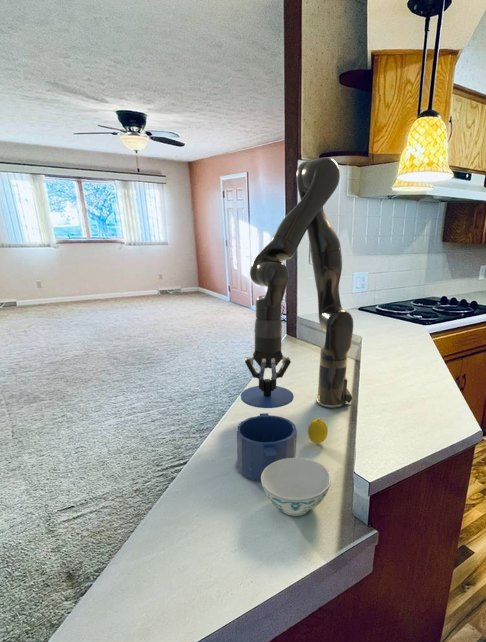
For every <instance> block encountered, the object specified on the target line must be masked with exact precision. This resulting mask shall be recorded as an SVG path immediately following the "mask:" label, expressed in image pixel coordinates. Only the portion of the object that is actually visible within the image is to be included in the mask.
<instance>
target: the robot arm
mask: <svg viewBox="0 0 486 642" xmlns="http://www.w3.org/2000/svg"><path fill="white" fill-rule="evenodd" d="M340 178H341V175H340V168H339V166H338V163H337V162H336V160H334V159H333V158H331V157H318V158H313V159H309V160H305V161H303V162H301V163H300V164H299V165H298V168H297V170H296V185H297V191H298V194H299V198H300V201H299V202H298V203H297V204H296V205H295V206H294V207H293V208H292V209H291V210H290V211H289V212H288V213H287V214H286V216H284V218H283V219H282V221H280V223H279V224H278V227H277V229H276V230H275V232H274V234H273V236H272V238H271V240H270V242H269V243H268V244H266V245H265V247H264V248H263V249H262V250H261V251H260V252H259V253H258V255H256V257H255V258H254V259H253V261H252V262H251V265H250V269H249V277H250V279H251V281H252V282H253V283H254V285H257V286H261V287H266V288H267V290H266V293H265V294H262V295H259V296H257V297H256V299H255V321H254V351H253V353H252V355H251V356H249V357H247V356H246V357H244V363H245V366H246V367H247V369H248V371H249V373H250V374H251V376H252V377H253V378H254V379H258V386H259V389H261V391H264V379H265V378H264V377H265V372H266V371H265V370H266V369H270V370H271V377H270V380H271V391H274V389H276V386H277V379H279V378H283V377H284V375H285V374H286V372H287V370H288V368H289V367H290V365H291V363H292V361H291V359H290V357H289V356H288V357H286V356H284V354H283V352H282V335H283V334H282V333H283V324H282V323H283V322H282V304H283V300H284V297H285V293H286V290H287V287H288V282H289V270H288V267H287V265H286V264H285V263H284V261H288V260H290V259H292V258H293V257H294V255H295V253H296V251H297V249H298V247H299V245H300V244H301V242H302V240H303V238H304V236H305V234H306V233H307V237H308V243H309V252H310V258H311V264H312V271H313V277H314V282H315V288H316V294H317V307H318V309H317V310H318V324H319V326H320V328H321V330H322V331H323V332H325V339H324V344H323V345H322V346H321V347H320V350H319V367H318V384H317V387H318V388H317V394H316V397H317V399H316V403H317V404H318V405H319V406H320V407H324V408H329V409H337V408H341V407H342V406H343V407H344V406H346V403H348V404H350V403H351V402H352V400H353V396H352V394H351V392H350V391H349V390H348V379H347V368H348V356H349V352H350V350H351V347H352V341H353V334H354V333H353V332H354V318H353V316H352V315H351V313H350V312H349V311H347V310H345V309H343V307H342V302H341V297H340V280H341V276H342V272H343V255H342V247H341V242H340V238H339V237H338V235H337V233H336V231H335V229H334V228H333V226H332V225H331V223H330V221H329V219H328V218H327V216H326V212H325V210H324V209H325V208H324V206H325V205H326V203H327V202H328V201H329V199H330V198H331V197H332V195H333V194H334V192H335V191H336V190H337V187H338V186H339V183H340ZM254 361H255V362H256V364H257V365H258V366H259V370H258V371H256V369H255V367H254ZM280 362H281V364H282V365H280V368H279V369H278V371H277V366H278V365H279V363H280Z"/></svg>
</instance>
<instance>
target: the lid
mask: <svg viewBox="0 0 486 642" xmlns="http://www.w3.org/2000/svg"><path fill="white" fill-rule="evenodd" d="M294 397H295V395H294V393H293V392H292V391H291V390H289V389H287V388H286V387H282V386H279V385H276V389H274V391H271V378H264V391H261V389H259V385H256V386H251V387H248V388H246V389H244V390H243V391H242V392H241V393H240V400H241V401H242V402H243V403H244V404H245V405H248V406H250V407H253V408H259V409H275V408H277V409H278V408H281V407H285V406H287V405H289V404H291V403H292V402H293V400H294Z"/></svg>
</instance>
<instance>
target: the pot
mask: <svg viewBox="0 0 486 642" xmlns="http://www.w3.org/2000/svg"><path fill="white" fill-rule="evenodd" d="M297 432H298V429H297V425H296V424H295V423H294V422H293V421H291V420H290V419H288V418H285V417H283V416H277V415H271V414H270V413H268V412H265V413H259V415H256V416H252V417H248V418H246V419H244V420H242V421H240V423H239V424H238V425H237V426H236V457H237V469H238V472H239V473H240V474H241V475H242V476H243V477H245V478H247V479H249V480H252V481H256V482H261V475H262V472H263V471H264V469H265V468H266V467H267V466H268V465H270V464H271V463H273V462H276V461H278V460H282V459H287V458H297V438H298V437H297V436H298V433H297Z"/></svg>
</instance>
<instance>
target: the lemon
mask: <svg viewBox="0 0 486 642" xmlns="http://www.w3.org/2000/svg"><path fill="white" fill-rule="evenodd" d="M328 431H329V430H328V424H327V423H326V422H325V420H324V419H322V418H315V419H313V420H311V422H310V423H309V425H308V428H307V436H308V438H309V440H310V441H311V442H313V443H315V444H316V445H318V444H321V443H323V442H324V441H325V440H327V437H328Z"/></svg>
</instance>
